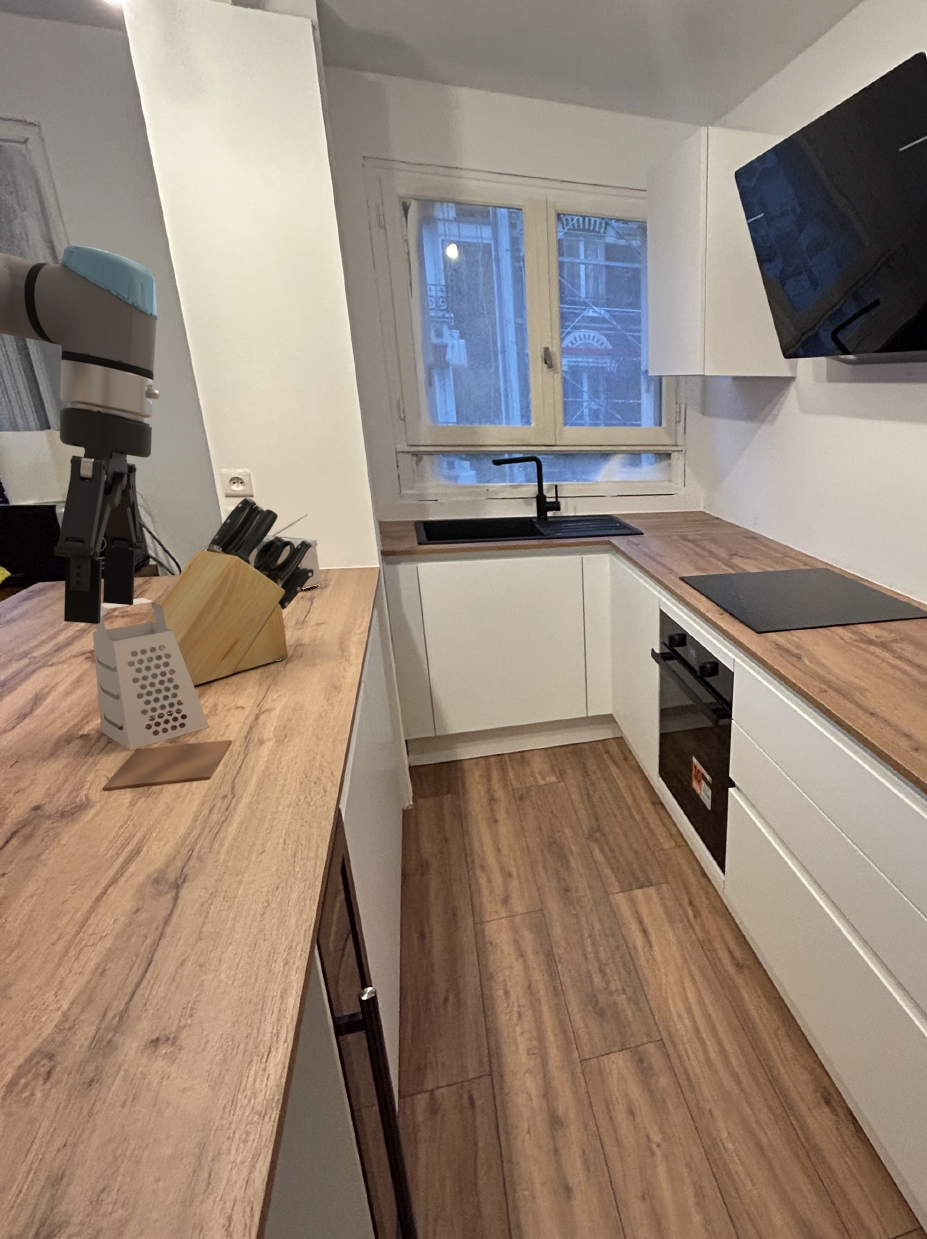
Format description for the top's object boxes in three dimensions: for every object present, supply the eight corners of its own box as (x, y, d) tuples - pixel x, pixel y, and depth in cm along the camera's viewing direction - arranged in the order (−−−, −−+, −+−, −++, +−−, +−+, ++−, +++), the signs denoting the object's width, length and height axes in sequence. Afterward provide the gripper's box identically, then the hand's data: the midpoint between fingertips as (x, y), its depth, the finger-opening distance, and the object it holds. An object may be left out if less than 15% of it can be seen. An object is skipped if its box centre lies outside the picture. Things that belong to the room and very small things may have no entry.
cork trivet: (102, 790, 94) (102, 787, 94) (136, 751, 104) (136, 748, 104) (209, 778, 97) (209, 776, 97) (232, 742, 108) (231, 739, 108)
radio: (243, 585, 201) (230, 512, 195) (268, 579, 209) (256, 509, 202) (302, 592, 195) (291, 517, 189) (326, 586, 203) (316, 514, 196)
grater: (209, 727, 113) (183, 602, 106) (130, 750, 105) (96, 616, 98) (178, 711, 118) (152, 591, 112) (101, 731, 110) (67, 603, 104)
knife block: (331, 646, 152) (309, 496, 142) (153, 701, 122) (109, 515, 111) (294, 639, 156) (270, 492, 146) (113, 690, 126) (67, 509, 116)
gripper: (120, 410, 67) (113, 635, 70) (174, 429, 89) (167, 600, 92) (14, 390, 64) (11, 627, 67) (97, 415, 85) (92, 593, 89)
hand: (101, 612), depth 80 cm, fingers open, 13 cm apart
